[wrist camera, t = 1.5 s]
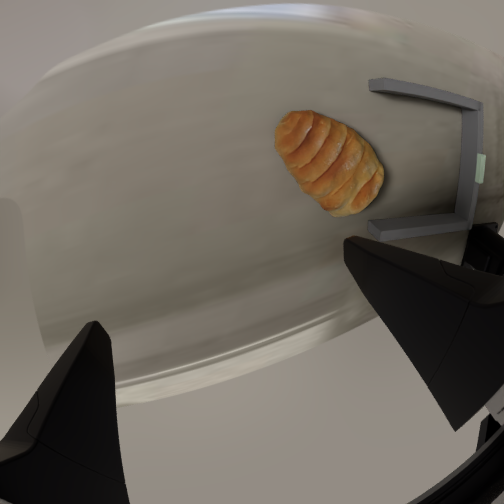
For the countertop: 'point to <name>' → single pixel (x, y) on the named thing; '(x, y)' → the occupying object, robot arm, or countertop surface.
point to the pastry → (329, 161)
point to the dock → (469, 167)
